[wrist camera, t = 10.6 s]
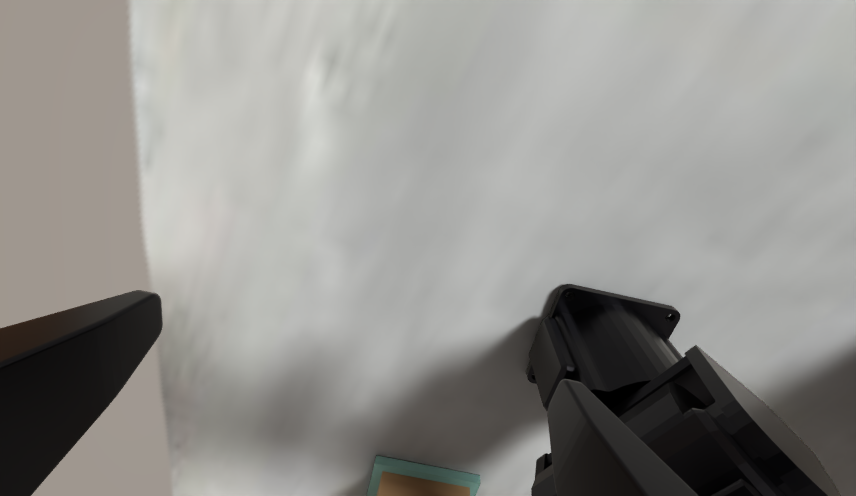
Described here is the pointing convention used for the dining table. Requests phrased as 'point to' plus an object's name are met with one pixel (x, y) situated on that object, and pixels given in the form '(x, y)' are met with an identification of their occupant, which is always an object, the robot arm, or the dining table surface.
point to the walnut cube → (417, 486)
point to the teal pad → (420, 474)
